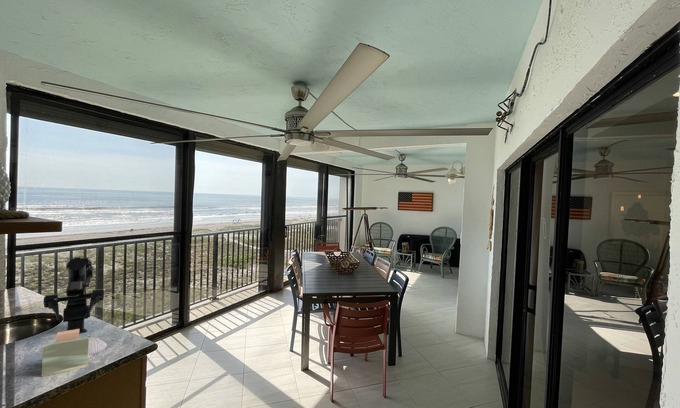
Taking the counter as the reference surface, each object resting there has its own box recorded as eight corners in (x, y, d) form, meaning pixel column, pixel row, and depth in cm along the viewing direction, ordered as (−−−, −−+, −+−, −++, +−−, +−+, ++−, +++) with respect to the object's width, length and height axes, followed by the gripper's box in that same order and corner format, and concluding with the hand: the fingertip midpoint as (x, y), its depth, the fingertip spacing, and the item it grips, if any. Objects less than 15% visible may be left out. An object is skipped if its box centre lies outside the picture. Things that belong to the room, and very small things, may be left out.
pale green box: (46, 364, 109) (48, 334, 109) (88, 355, 116) (90, 327, 116) (41, 377, 101) (43, 345, 101) (87, 366, 108) (88, 337, 108)
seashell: (108, 334, 128) (107, 338, 120) (107, 347, 127) (105, 352, 119) (77, 338, 122) (73, 343, 114) (75, 352, 121) (72, 358, 113)
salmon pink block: (55, 364, 107) (57, 332, 107) (77, 360, 111) (79, 328, 111) (54, 368, 105) (56, 335, 104) (77, 363, 108) (78, 331, 108)
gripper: (45, 275, 117) (39, 312, 109) (105, 270, 129) (103, 303, 120) (47, 289, 123) (41, 325, 115) (103, 283, 135) (102, 315, 127)
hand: (73, 316), depth 119 cm, fingers open, 9 cm apart
